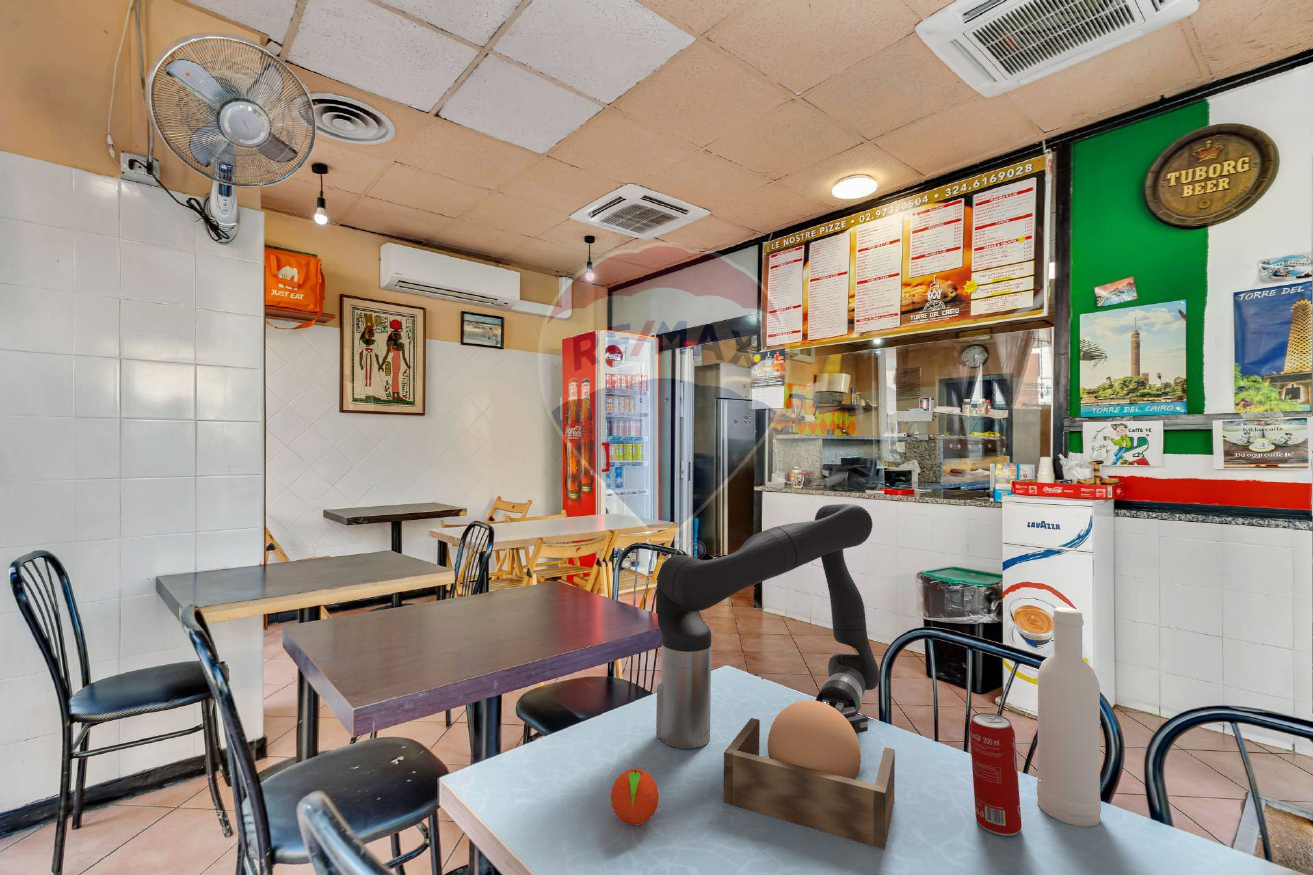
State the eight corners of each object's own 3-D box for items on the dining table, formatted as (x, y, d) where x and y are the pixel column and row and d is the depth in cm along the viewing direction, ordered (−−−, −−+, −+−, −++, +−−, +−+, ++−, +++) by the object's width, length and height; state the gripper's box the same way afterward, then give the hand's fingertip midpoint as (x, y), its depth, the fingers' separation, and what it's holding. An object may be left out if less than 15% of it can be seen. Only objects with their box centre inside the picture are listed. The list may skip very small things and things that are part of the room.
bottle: (1042, 819, 88) (1042, 612, 89) (1031, 791, 95) (1031, 601, 96) (1108, 833, 85) (1107, 619, 85) (1092, 803, 92) (1092, 606, 93)
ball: (783, 748, 104) (759, 809, 92) (778, 675, 101) (753, 728, 89) (868, 768, 98) (854, 836, 85) (865, 691, 95) (850, 750, 83)
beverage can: (1028, 841, 83) (1028, 731, 83) (977, 834, 84) (977, 726, 84) (1011, 815, 89) (1011, 713, 89) (964, 809, 90) (964, 708, 90)
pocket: (723, 802, 91) (723, 752, 91) (750, 762, 103) (751, 717, 103) (885, 849, 80) (885, 792, 81) (894, 798, 92) (894, 749, 93)
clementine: (658, 842, 81) (658, 788, 82) (607, 840, 81) (607, 787, 82) (658, 807, 89) (659, 758, 90) (612, 805, 89) (613, 757, 90)
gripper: (805, 673, 118) (782, 705, 103) (876, 685, 112) (863, 722, 97) (805, 711, 118) (782, 749, 103) (876, 726, 112) (863, 769, 97)
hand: (822, 736), depth 100 cm, fingers closed
